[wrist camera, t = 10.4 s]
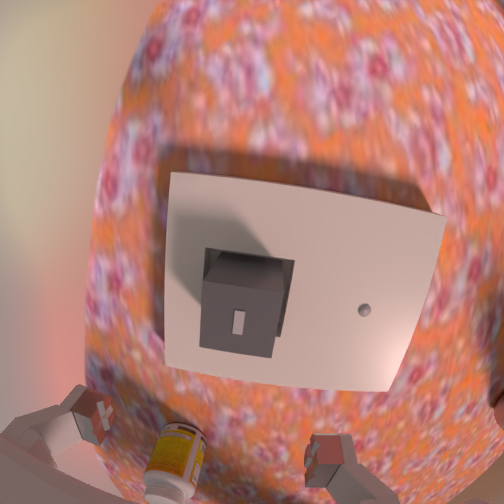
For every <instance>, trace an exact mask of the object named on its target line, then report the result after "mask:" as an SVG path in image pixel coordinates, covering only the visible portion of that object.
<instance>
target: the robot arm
mask: <svg viewBox="0 0 504 504" xmlns="http://www.w3.org/2000/svg"><path fill="white" fill-rule="evenodd" d="M111 403H112V400H111V397H110V396H108V395H106V394H103V393H101V392H98V391H95V390H93V389H90V388H88V387H85V386H83V385H80V384H79V385H77V386H76V387H75V388H74V389H73V390H72V391H71V392H70V394H69V395H68V396H67V397H66V399H65V400H64V401H63V402H62V403H61V404H60V406H58V405H54V406H52V407H48V408H45V409H42V410H39V411H36V412H33V413H30V414H27V415H23V416H20V417H16V418H15V419H14V420H13V421H12V422H11V423H10V424H9V425H8V426H7V428H6V429H5V430H4V431H3V432H2V433H1V434H0V504H138V503H135V502H132V501H129V500H126V499H123V498H121V497H118V496H115V495H112V494H110V493H108V492H105V491H103V490H100V489H98V488H95V487H93V486H91V485H89V484H86V483H84V482H82V481H80V480H78V479H75V478H74V477H72V476H69V475H67V474H65V473H64V472H62V471H60V470H57V468H58V467H57V464H56V463H55V461H54V460H53V458H52V456H54V455H56V454H58V453H60V452H62V451H64V450H66V449H68V448H70V447H72V446H73V445H75V444H77V443H79V442H81V441H82V439H83V440H86V441H88V442H91V443H93V444H96V445H98V446H100V445H101V443H102V442H103V440H104V438H105V437H106V434H105V431H106V430H108V429H110V428H111V426H112V425H113V422H114V418H115V413H114V409H113V408H112V407H111V406H110V404H111ZM304 466H305V467H306V468H307V471H306V473H305V487H319V488H326V489H327V491H328V492H329V493H330V494H331V496H332V497H333V498H334V499H335V501H336V502H337V503H338V504H400V503H399V499H398V495H397V494H396V493H394V492H393V491H392V490H391V489H390V488H389V487H387V486H386V485H385V484H384V483H383V482H382V481H380V480H379V479H378V478H377V477H376V476H375V475H373V474H372V473H371V472H370V471H369V470H368V469H367V468H366V467H364V466H363V465H362V464H358V462H357V458H356V453H355V449H354V445H353V440H352V436H351V434H330V433H313V434H312V436H311V438H310V444H309V445H307V448H306V450H305V455H304ZM457 504H492V503H490V502H488V501H486V500H484V499H481V498H477V497H476V498H471V499H468V500H466V501H463V502H461V503H457Z"/></svg>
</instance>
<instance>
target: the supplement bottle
mask: <svg viewBox="0 0 504 504" xmlns="http://www.w3.org/2000/svg"><path fill="white" fill-rule="evenodd" d="M206 445H207V441H206V438H205V436H204V435H203V434H202V433H201V432H200V431H199V430H197V429H195V428H194V427H191V426H189V425H186V424H181V423H172V424H168V425H166V426H165V427H164V428H163V429H162V431H161V433H160V436H159V438H158V440H157V443H156V445H155V448H154V450H153V453H152V455H151V458H150V460H149V462H148V465H147V467H146V470H145V472H144V475H143V481H144V483H145V484H146V486H147V488H146V491H145V494H144V498H145V500H146V501H147V502H149V503H150V504H184V502H185V499H188V498H190V497H192V496H193V495H194V493H195V490H196V486H197V482H198V478H199V474H200V470H201V466H202V462H203V458H204V454H205V450H206Z"/></svg>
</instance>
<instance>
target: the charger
mask: <svg viewBox="0 0 504 504" xmlns="http://www.w3.org/2000/svg"><path fill="white" fill-rule="evenodd" d="M283 295H284V284H283V262H282V260H276V259H269V258H263V257H256V256H249V255H242V254H235V253H228V252H221V253H220V255H219V256H218V258H217V259H216V261H215V263H214V264H213V266H212V267H211V269H210V271H209V272H208V274H207V275H206V277H205V279H204V280H203V289H202V304H201V321H200V340H199V347H202V348H208V349H213V350H219V351H225V352H231V353H237V354H243V355H250V356H257V357H264V358H272V353H273V348H274V343H275V337H276V332H277V327H278V322H279V317H280V311H281V306H282V301H283Z"/></svg>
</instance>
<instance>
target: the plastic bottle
mask: <svg viewBox="0 0 504 504" xmlns="http://www.w3.org/2000/svg"><path fill="white" fill-rule="evenodd" d="M494 417H495V419H496V422H497V424H498V425H499V426H500V427H501V428H502V429H503V430H504V394H503V396H502V397H501V398H500V399H499V401H498V402H497V404H496V406H495V410H494Z"/></svg>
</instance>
